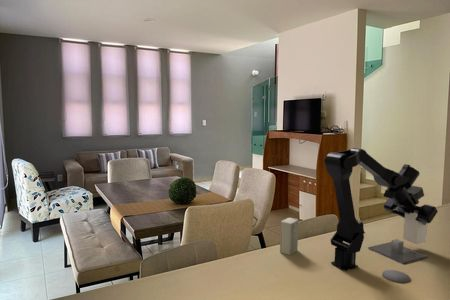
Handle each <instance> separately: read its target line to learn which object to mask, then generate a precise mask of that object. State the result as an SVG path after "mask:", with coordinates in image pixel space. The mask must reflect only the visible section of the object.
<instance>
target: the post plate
mask: <svg viewBox="0 0 450 300" xmlns="http://www.w3.org/2000/svg"><path fill="white" fill-rule="evenodd" d="M367 248H368V249H369V250H371V251H373V252H375V253H376V254H379V255H381V256H384V257H387V258H388V259H391V260H393V261H395V262H398V263H399V264H402V265H404V264H409V263H412V262H416V261H419V260H423V259H427V258H428V255H426V254H424V253H422V252H419V251H416V250H414V249H411V248H408V247H406V246H404V241H403V240H400V239H393V240H391V241H389V242H385V243H381V244H377V245H372V246H368V247H367Z"/></svg>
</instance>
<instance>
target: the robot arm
mask: <svg viewBox="0 0 450 300" xmlns="http://www.w3.org/2000/svg"><path fill="white" fill-rule="evenodd" d="M324 165H325V169H326V172H327V173H328V175H329V177H330V178H331V179H332V181H333V185H334V192H335V198H336V204H337V209H338V216H339V220H338V222H337V225H336V232H335V233H334V234H333V235H332V237H331V238H330V244H331V246H333V247H335V248H334V261H330V264H331V265H333V266H335V267H336V268H338V269H340V270H342V271H345V272H346V271H349V270H354V269H358V268H359V265H358V264H356V257H357V253H358V252H361V249H362V245H363V242H364V239H365V234H366V232H365V230H364V222H363V221H360V220H358V219H357V218H356V214H355V207H354V202H353V194H352V187H351V182H350V178H351V175H352V174H353V169H354V168H355V167H357V166H358V165H359V166H360V167H362V168H363V169H364V170H365V171H367V172H368V173H369V174H371V176H373V180H374V181H375V183H377V185H378V186H381V187H385V188H386V189H384V193H383V197H384V198H386V199H387V200H386V201H385V202H384V204H383V209H384V210H385V211H387V212H390V213H392V214H395V215H397V216H399V217H402V218H404V219H405V213H407V214H410V213H412V214H413V213H414V212H416V213H417V214H418V216H417V218H416V219H415V220H416V221H418V222H420V223H422V224H423V225H426V224H427V223H428V224H430V223H432V221H433V220H434V219H435V217H436V216H437V214H438V212H439V211H438V209H437V208H436V206H433V205H430V204H423V205H421V206H419V203H420V201H419V200H420V199H421V198H423V197H425V192H424V189H423V187H421V186H417V185H413V184H415V182H416V181H417V179H418V178H419V176H420V171H419V170H418V169H416V168H414V167H413V166H411V165H410V164H406V163H405V164H403V166H402V167H401V169H400V170H399V172H397V171H395V170H393V169H390V168H387V167H384V166H383V165H382V164H381V163H379V162H378V160H376V159H375V158H373V156H371V155H370V154H369V153H368V152H367V151H366V150H365V149H362V148H356V147H351V148H349V149H346V150H340V151H337V152H334V151H331V152H329V153H328V154H327V155H326V157H325V158H324Z"/></svg>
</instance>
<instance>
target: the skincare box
mask: <svg viewBox="0 0 450 300" xmlns="http://www.w3.org/2000/svg"><path fill="white" fill-rule="evenodd" d="M279 233H280V235H279V236H280V238H279V240H280V241H279V253H280V254H284V255H287V256H291V255H292V254H294V253H296V252H297V251H298V246H299V245H298V241H299V219H297V218H292V217H287V218H284V219H283V220H281V221H280V232H279Z"/></svg>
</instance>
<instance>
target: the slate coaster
mask: <svg viewBox="0 0 450 300" xmlns="http://www.w3.org/2000/svg"><path fill="white" fill-rule="evenodd" d="M381 275H382V277H383V278H385V279H386V280H388V281H390V282H393V283H399V284H406V283H409V282H411V277H410V275H408V274H407V273H406V272H403V271H399V270H394V269H386V270H384V271H382V273H381Z"/></svg>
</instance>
